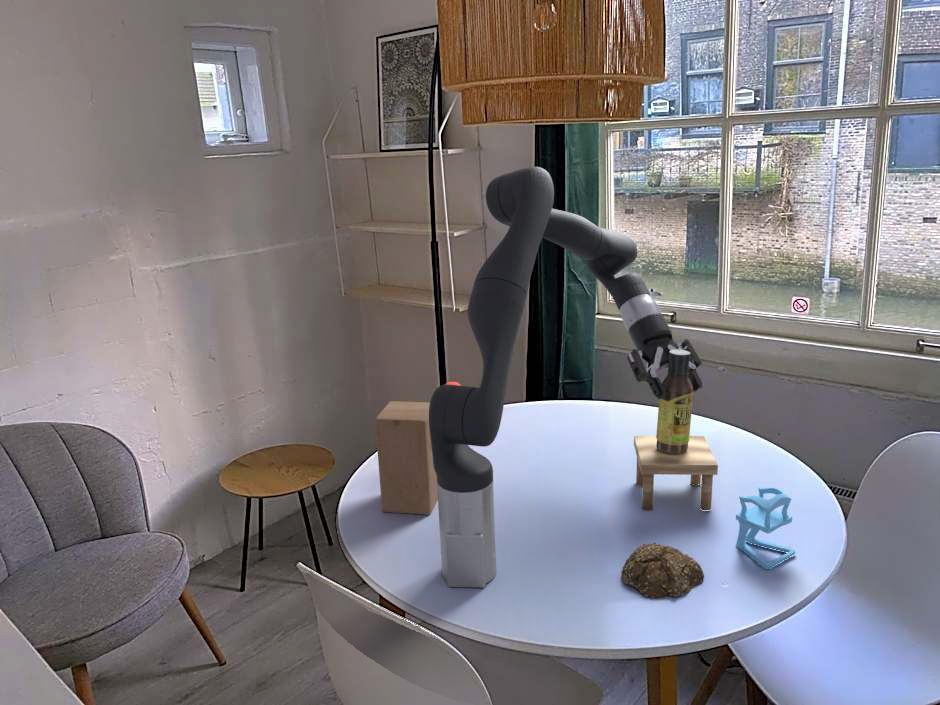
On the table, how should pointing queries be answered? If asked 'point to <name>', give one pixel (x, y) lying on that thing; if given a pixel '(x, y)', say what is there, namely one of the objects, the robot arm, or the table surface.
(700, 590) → the table surface
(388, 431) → the wooden block
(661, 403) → the sauce bottle
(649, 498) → the small wooden side table
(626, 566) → the bread roll
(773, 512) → the chair
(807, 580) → the table surface
